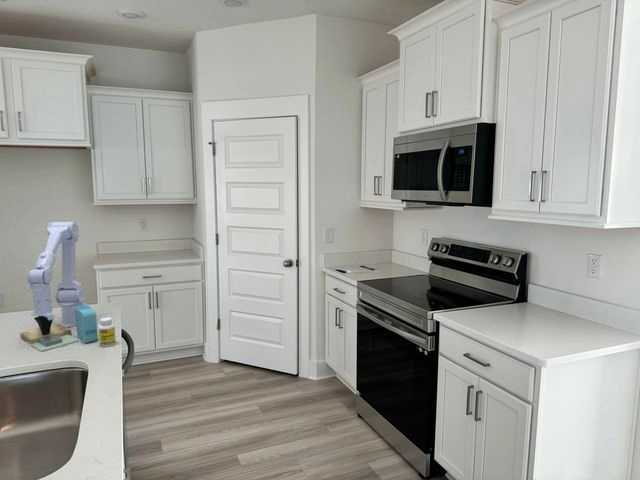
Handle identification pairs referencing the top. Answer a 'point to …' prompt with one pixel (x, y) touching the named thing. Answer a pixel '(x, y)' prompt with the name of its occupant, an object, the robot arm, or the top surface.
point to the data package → (86, 324)
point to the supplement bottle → (106, 332)
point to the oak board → (34, 334)
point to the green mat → (65, 341)
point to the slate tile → (49, 340)
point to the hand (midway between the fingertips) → (46, 334)
